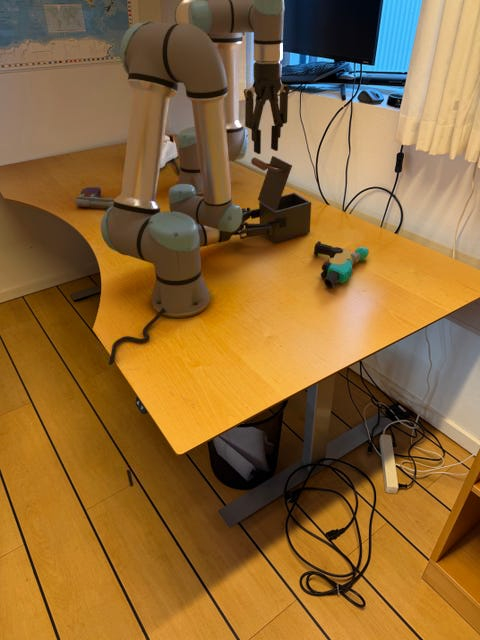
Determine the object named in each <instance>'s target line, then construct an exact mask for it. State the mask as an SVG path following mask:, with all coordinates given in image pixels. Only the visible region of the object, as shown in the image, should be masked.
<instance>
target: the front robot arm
mask: <svg viewBox="0 0 480 640" xmlns="http://www.w3.org/2000/svg"><path fill="white" fill-rule="evenodd" d="M119 49H120V50H119V56H120V57H119V58H120V62H121V63H122V68H123V70H124V72H125V73H126V74H127V75H128V76H127V83H128V85H129V86H130V88H131V89H132V100H131V107H130V115H129V116H130V117H129V125H128V133H127V139H126V140H127V141H126V148H125V156H124V165H123V174H122V182H121V183H122V184H121V192H120V193H119V195H118V196H116V197H115V198H113V199H114V204H113V206H112V207H110V208H109V209H106V211H105V213H104V214H103V215H102V218H101V221H100V233H101V237H102V239H103V241H104V243H105V244H106V246H107V247H108V248H109V249H110V250H112V251H114V252H117V253H118V254H120V255H122V256H128V257H131V258H134V259H137V260H140V261H143V262H147V263H150V264H152V265H153V268H154V274H155V275H154V276H155V281H154V284H153V290H152V294H151V305H152V308H153V310H154V311H155V312H156V313H157V314H156V315H155V316H154V317H153V318H152V319H151V320H149V322H148V323H147V324H146V325H145V326H144V327H143V329H142V335H143V336H144V337H143V338H139V337H134V336H129V335H126V336H122V337H119V338H118V339H117V340H115V341H114V342H113V344H112V347H111V350H110V351H111V352H110V356H109V361H108V365H109V366H112V365H113V364H114V361H115V357H116V352H117V348H118V345H119V344H121V343H122V342H125V341H131V342H134V343H139V344H143V343H146V342H148V341H149V339H150V335H149V333H148V330H149V329H150V328H151V327H152V326H153V325H154V324H155V323H156V322H157V321H158V320H159V319H160V318H161V316H163V317H167V318H171V319H183V318H185V319H186V318H190V317H194V316H196V315H199V314H201V313H202V312H204V311H205V310H207V308H208V307H209V306H210V303H211V294H210V290H209V288H208V286H207V284H206V281H205V278H204V277H203V275H202V262H201V261H202V259H201V248H203V247H209V246H211V245H215V244H220V243H224V242H225V243H226V242H228V241H230V239H232V236H239V239H240V240H243V239H244V240H245V239H248V238H255V237H266V236H265V235H271V230H274V229H278V228H282V227H286V221H287V218H282V219H278V220H273V221H269V222H268V224H260V223H248V222H247V221H248V220H250V219H252V220H253V219H257V218H259V208H254V209H251V208H250V207H246V208H245V207H243V208H241V206H240V205H237V204H235V203H233V197H232V184H231V183H232V182H231V172H230V161H229V157H228V144H227V132H226V119H225V106H224V97H225V96H226V95H227V93H228V88H227V78H226V73H225V68H224V65H223V62H222V59H221V57H220V55H219V52H218V50H217V48H216V46H215V45H214V43H213V42H212V40H211V39H210V38H209V36H208V35H207V34H206V33H205V32H204V31H202V30H201V29H200V28H198V27H196V26H194V25H191V24H185V23H182V24H176V23H172V22H157V21H156V22H155V21H146V22H138V23H134V24H132V26H130V27H129V28H128V29H127V30H126V32H125V33H124V35H123V37H122V39H121V43H120V48H119ZM179 83H181V84H183V86H184V87H185V93H186V94H185V96H186V98H187V99H189V100H190V101H191V107H192V108H191V109H192V115H193V123H194V127H195V132H196V140H197V148H198V156H199V164H200V172H201V180H202V188H203V196H196V192H195V188H194V187H193V186H192V185H189V184H178V183H177V184H178V185H177V184H175V185H173V186H171V187H169V189H168V204H169V210H165V211H161V206H160V205H159V203H158V201H157V200H156V198H157V192H158V184H159V178H160V170H161V168H160V164H161V157H162V150H163V143H164V136H165V135H166V129H167V128H166V127H167V120H168V115H169V105H170V100H171V99H172V98H173V97H175V96H176V95H177V94H178V90H179V89H178V88H179ZM125 471H126V475H127V479H128V484H129V487H131V488H133V487H134V481H133V476H132V471H131V469H125Z"/></svg>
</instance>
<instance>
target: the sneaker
mask: <svg viewBox="0 0 480 640" xmlns="http://www.w3.org/2000/svg"><path fill="white" fill-rule="evenodd" d="M177 157H179V153H178V149H177V144H176V140H175V136H174V135H173V134H165V136H164V143H163V150H162V157H161V164H160V169H162V168H164V167H165V166H166V164H167V163H168V162H170V161H173V160H172V159H173V158H174V159H176V158H177Z"/></svg>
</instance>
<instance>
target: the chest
mask: <svg viewBox="0 0 480 640" xmlns="http://www.w3.org/2000/svg"><path fill="white" fill-rule="evenodd" d="M258 209H259V217H258V218H259V224H268V222H269V221H273V220H278V219H282V218H287V221H286V227H282V228H278V229H274V230H271V235H265V236H264V237H266V238H267V239H269V240H270V241H271V242H272V243H274V244H277V243H280V242H284V241H287V240H290V239H294V238H296V237H301V236H303V235H306V234H309V233H311V220H312V219H311V217H312V216H311V215H312V201H310V200H308V199H306V198H305V197H303V196H301V195H300V194H298V193H296V192H291V193H288V194H282V196H281V199H280V202H279V205H278V208H277V210H276V211H274V210H272V209H271V208H269V207H268V206H266V205H265V204H263V203H262V202H260V201H259V202H258Z"/></svg>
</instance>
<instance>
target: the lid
mask: <svg viewBox="0 0 480 640" xmlns="http://www.w3.org/2000/svg"><path fill="white" fill-rule="evenodd" d="M250 163H251V165H253V166H255V167H256V168H258V169H260V170H261V171H264V172H265V171H266V173H265V176H264V179H263V181H262V185H261V188H260V191H259V195H258V197H257V200H258V201H259V202H262V203H263V204H265V205H266V206H268V207H269V208H271V209H272V210H274V211H276V210H277V208H278V205H279V202H280V199H281V196H283V193H284V190H285V188H286V186H287V182H288V179H289V177H290V174H291V171H292V168H293V165H292V164H291V163H288V162H286V161H285V160H283V159H282V158H281V159H280V158H279V157H278V156H276V155H275V156H274V155H272V156H271V158H270V162H269V163H268V162H265V161H263V160H261V159H259V158H258V157H252V158H251V160H250Z"/></svg>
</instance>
